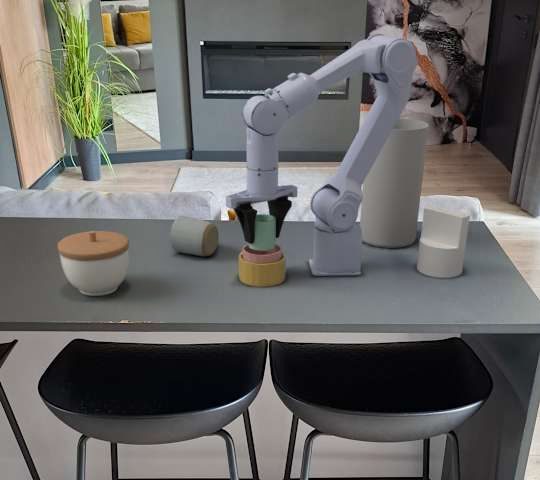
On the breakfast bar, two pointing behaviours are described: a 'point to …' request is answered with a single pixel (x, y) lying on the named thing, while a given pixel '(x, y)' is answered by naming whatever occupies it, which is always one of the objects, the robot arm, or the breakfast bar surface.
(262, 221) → the mint cup
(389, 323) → the breakfast bar surface
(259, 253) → the stack top
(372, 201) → the cylinder vase
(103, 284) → the lidded bowl
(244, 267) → the stack bottom
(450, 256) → the base with upright slab
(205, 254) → the ceramic mug
